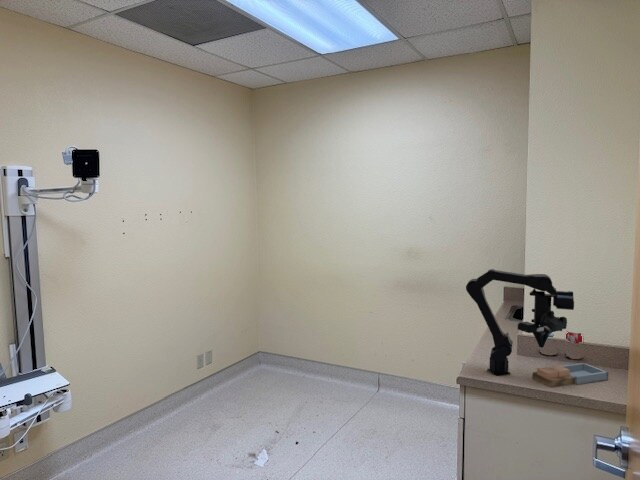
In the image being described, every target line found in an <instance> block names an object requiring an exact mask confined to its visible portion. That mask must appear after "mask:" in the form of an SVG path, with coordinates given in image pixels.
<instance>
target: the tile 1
mask: <svg viewBox="0 0 640 480" xmlns="http://www.w3.org/2000/svg"><path fill="white" fill-rule="evenodd" d="M549 367H550V366H545V367H539V368H537V369H536V372H537V374H538V375H540V376H542V377H544V378H546V379H550V378H557V377H558V371H556V370H554V369H551V368H549Z"/></svg>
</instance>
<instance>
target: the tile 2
mask: <svg viewBox="0 0 640 480" xmlns="http://www.w3.org/2000/svg"><path fill="white" fill-rule="evenodd" d="M562 366H563V365H554V366H548V367H549V368H551V369H554V370H556V371H558V377H563V376H570V370H569V369H567V368H564V367H562Z"/></svg>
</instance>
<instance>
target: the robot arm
mask: <svg viewBox="0 0 640 480" xmlns="http://www.w3.org/2000/svg"><path fill="white" fill-rule="evenodd" d="M492 281H499V282H503V283H509V284H510V283H511V284H517V285H523V286H527V287H529V288H532V290H531V291H530V292H529V296H532V297H534V302H533V303H534V305H533V307H534V308H532V309H531V312H533V318H532V319H531V322H530V321H520V322H518V323H517V330H519V331H521V332H525V333H529V334H532V335H533V336H534V338H535V341H536V343H537V344H538V348H539V347H541V348H543V347H544V345H545V342H546V340H547V338H548V336H549V334H551V333H552V332H556V331H557V332H562V331H563V330H566V329H567V326H568V325H567V324H568V319H567V317H565V316H560V317H558V316H555V312H554V310H552V305H553V307H555V308H556V309H558V310H568V311H574V310H575V300H574V291H570V290H569V291H564V290H563V291H561V290H557V289H556V287H554V285H553V282H552V279H551V277H550V276H549V275H547V274H544V273H533V274H531V273H530V274H523V273H516V272H510V271H503V270H497V269H494V268H492V269H488V271H486V272H485V273H483V274H482V275H479V276H478V277H477V278H471V279H470V280H469V281H468V282H467V284H466V286H465V290H466V292H467V293H468V295H469V296H470V298H471V299H472V300H473V301H474V303H476V304H477V307H478V309H479V311H480V313H481V315H482V317H483V320H484V321H485V323H486V325H487V327H488V329H489V331H490V333H491V336H492V339H493V344H494V346H493V347H492V348H491V351H490V356H489V368H487V369H486V371H487V372H489V373H491V374H492V375H495V376H497V377H500V376H506V375H511V372H510V371H509V359H508V357H509V356H510V355H511V354H512V352H513V340H512V339H511V337H510V334H509V332H506V333H505V332H504V331H503V330H502V328H501V327H500V324H499V323H498V320H497V318H496V317H495V315H494V312H493V310H492V308H491V306H490V304H489V303H488V300H487V298H486V297H487V296H486V294H485V290H484V287H486V286H487V285H488V284H489V283H491V282H492ZM546 292H547V293H546Z"/></svg>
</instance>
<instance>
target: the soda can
mask: <svg viewBox="0 0 640 480" xmlns="http://www.w3.org/2000/svg"><path fill="white" fill-rule="evenodd" d="M566 332H568V331H567V330H566ZM565 334H566V333H565ZM566 339H567V340H568V341H570V342H571V343H572V344H573V343H579V342H582V336H581V333H574V332H568V333H567V334H566Z"/></svg>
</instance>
